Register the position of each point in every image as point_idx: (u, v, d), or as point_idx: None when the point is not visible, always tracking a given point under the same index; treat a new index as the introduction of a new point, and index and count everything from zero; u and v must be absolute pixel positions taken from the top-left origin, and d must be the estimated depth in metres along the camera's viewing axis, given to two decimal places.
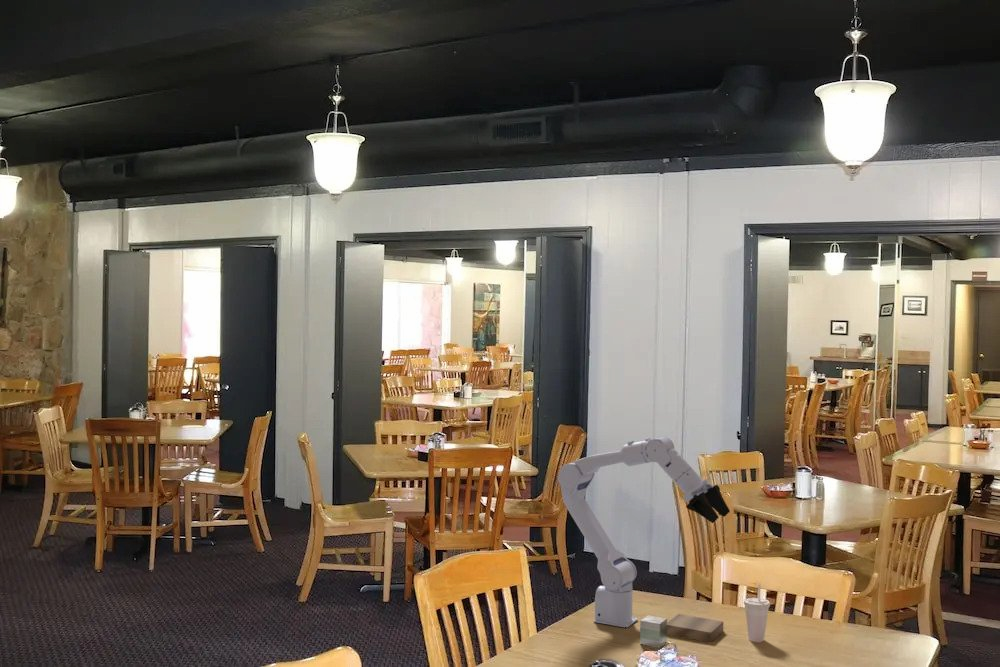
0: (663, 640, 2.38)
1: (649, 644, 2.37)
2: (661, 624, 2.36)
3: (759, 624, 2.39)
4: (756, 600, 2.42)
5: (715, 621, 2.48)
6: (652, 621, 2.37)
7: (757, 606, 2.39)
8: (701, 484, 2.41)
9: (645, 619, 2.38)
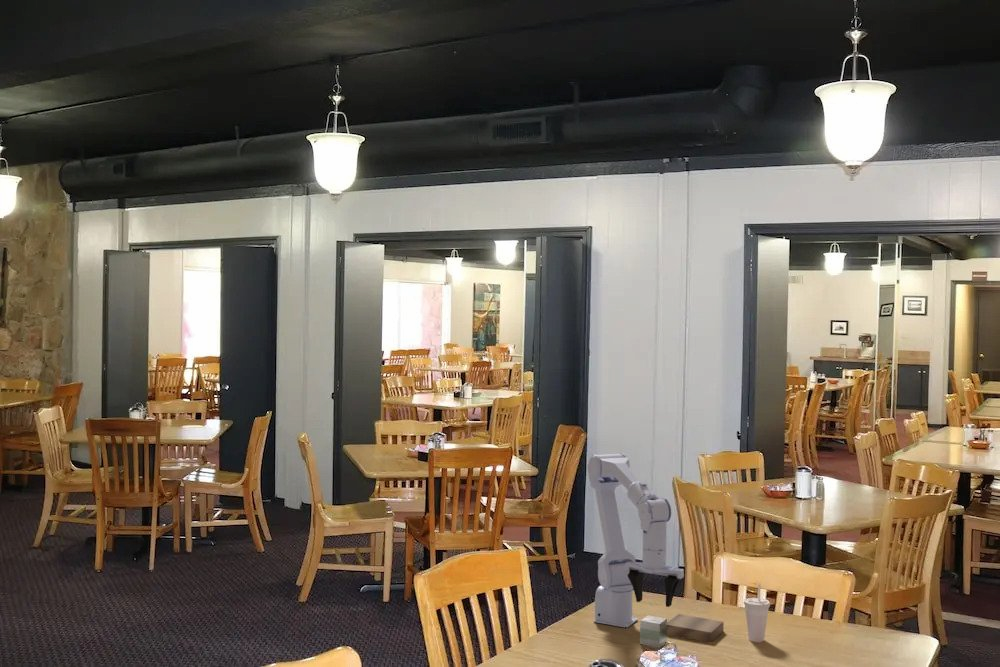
0: (663, 640, 2.38)
1: (649, 644, 2.37)
2: (661, 624, 2.36)
3: (759, 624, 2.39)
4: (756, 600, 2.42)
5: (715, 621, 2.48)
6: (652, 621, 2.37)
7: (757, 606, 2.39)
8: (644, 569, 2.37)
9: (645, 619, 2.38)
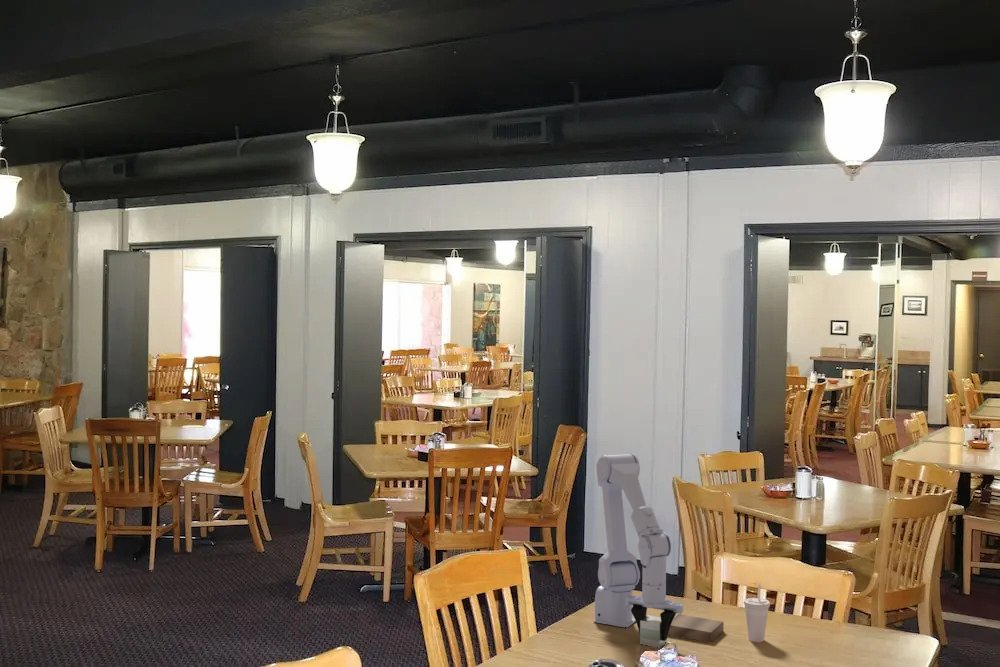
0: None
1: (649, 644, 2.37)
2: (661, 624, 2.36)
3: (759, 624, 2.39)
4: (756, 600, 2.42)
5: (715, 621, 2.48)
6: (652, 620, 2.37)
7: (757, 606, 2.39)
8: (643, 603, 2.37)
9: (645, 619, 2.38)
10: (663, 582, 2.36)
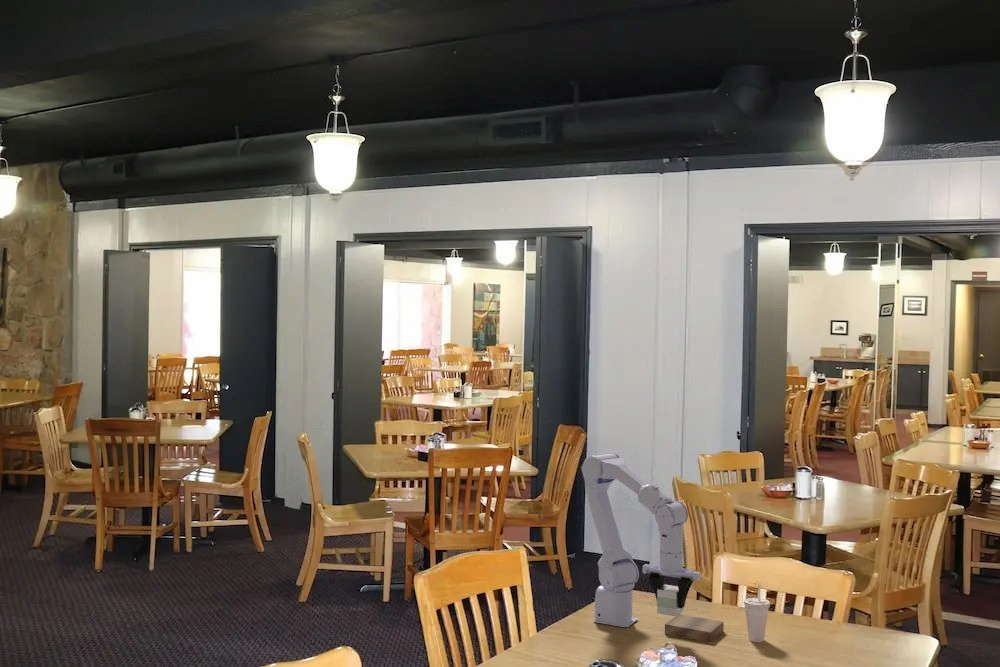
0: (680, 608, 2.41)
1: (666, 612, 2.40)
2: (678, 593, 2.39)
3: (759, 624, 2.39)
4: (756, 600, 2.42)
5: (715, 621, 2.48)
6: (669, 589, 2.40)
7: (757, 606, 2.39)
8: (661, 571, 2.40)
9: (662, 588, 2.42)
10: (682, 549, 2.40)
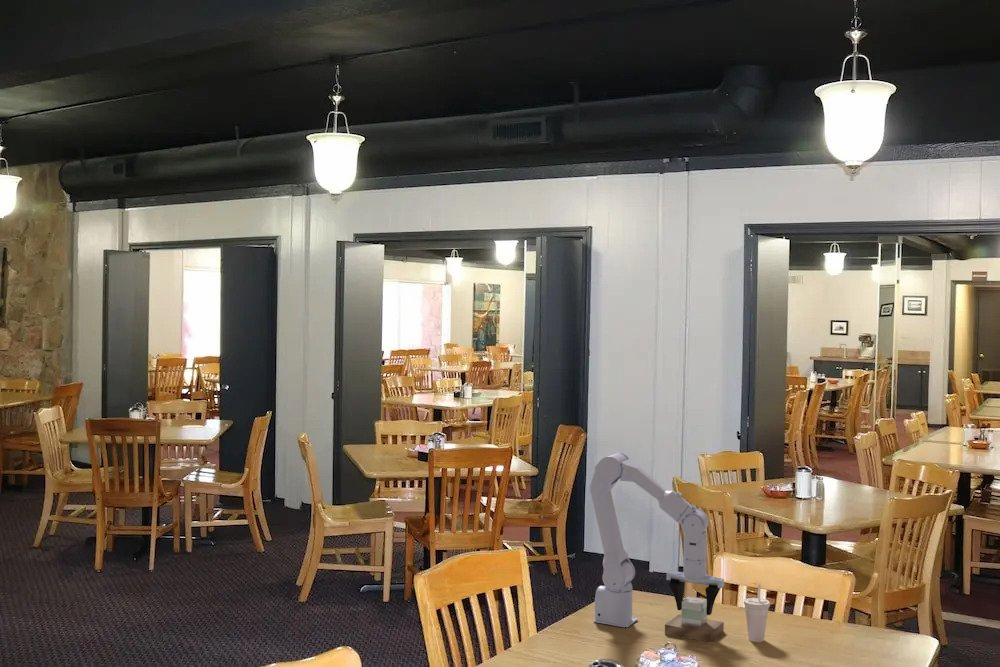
0: (704, 620, 2.46)
1: (691, 624, 2.44)
2: (702, 604, 2.44)
3: (759, 624, 2.39)
4: (756, 600, 2.42)
5: (715, 621, 2.48)
6: (693, 601, 2.45)
7: (757, 606, 2.39)
8: (685, 578, 2.45)
9: (686, 600, 2.46)
10: None
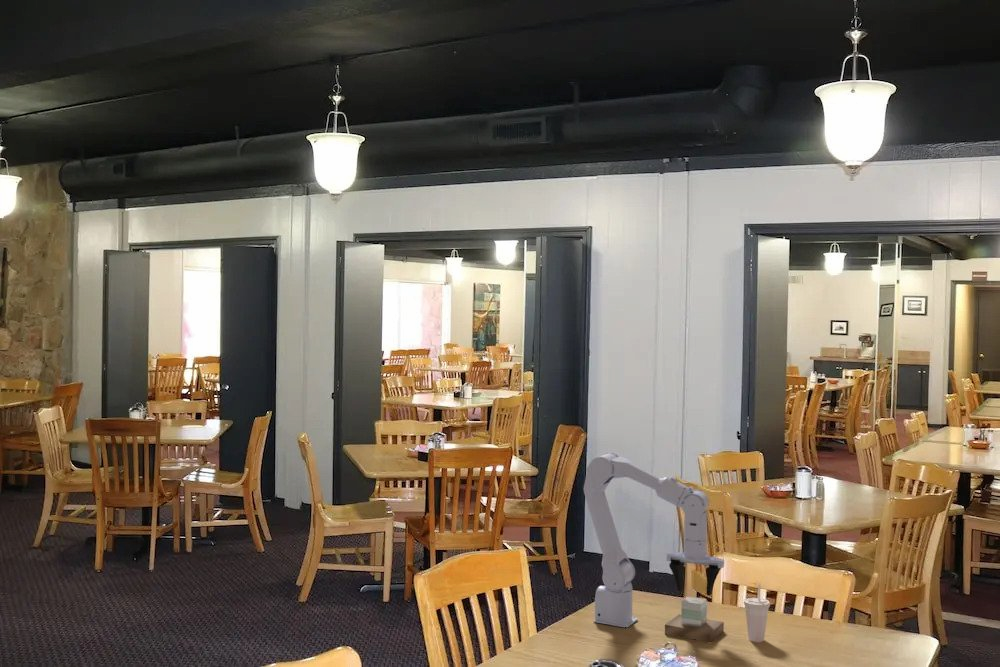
0: (704, 620, 2.46)
1: (691, 624, 2.44)
2: (702, 604, 2.44)
3: (759, 624, 2.39)
4: (756, 600, 2.42)
5: (715, 621, 2.48)
6: (693, 601, 2.45)
7: (757, 606, 2.39)
8: (685, 559, 2.45)
9: (686, 600, 2.46)
10: None
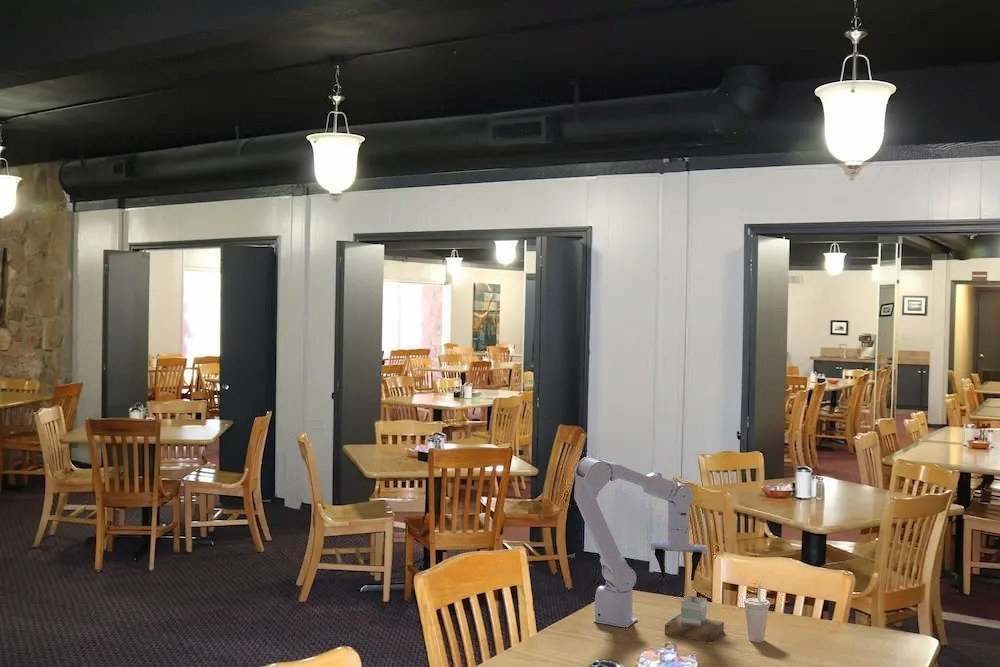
0: (703, 619, 2.46)
1: (690, 623, 2.45)
2: (702, 604, 2.44)
3: (759, 624, 2.39)
4: (756, 600, 2.42)
5: (715, 621, 2.48)
6: (693, 601, 2.45)
7: (757, 606, 2.39)
8: (671, 547, 2.57)
9: (686, 599, 2.47)
10: None
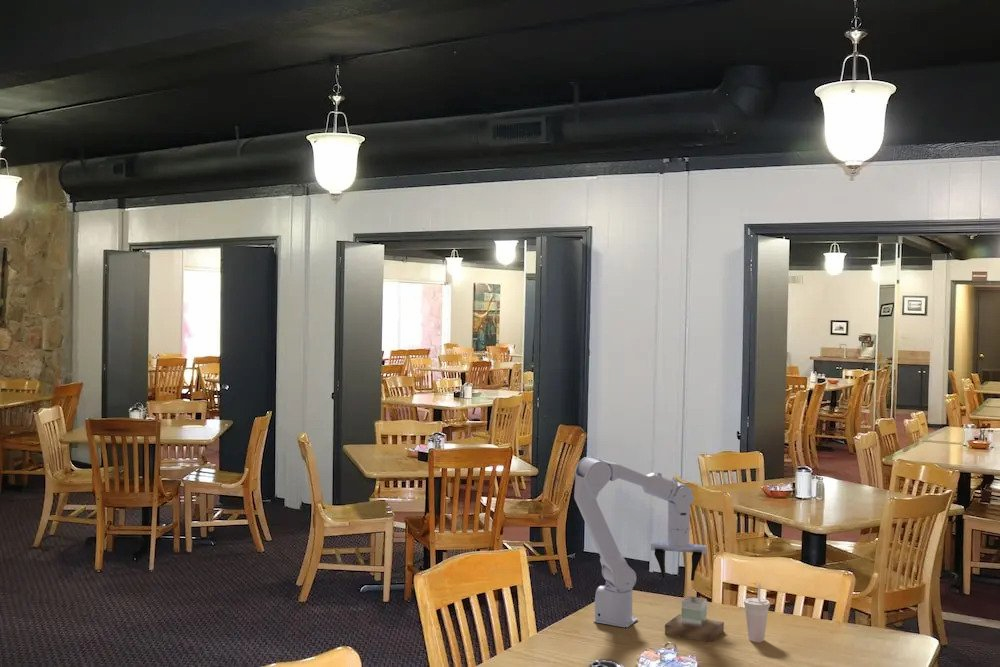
0: (704, 619, 2.46)
1: (691, 624, 2.45)
2: (702, 604, 2.44)
3: (759, 624, 2.39)
4: (756, 600, 2.42)
5: (715, 621, 2.48)
6: (693, 601, 2.45)
7: (757, 606, 2.39)
8: (671, 547, 2.57)
9: (686, 600, 2.46)
10: None
